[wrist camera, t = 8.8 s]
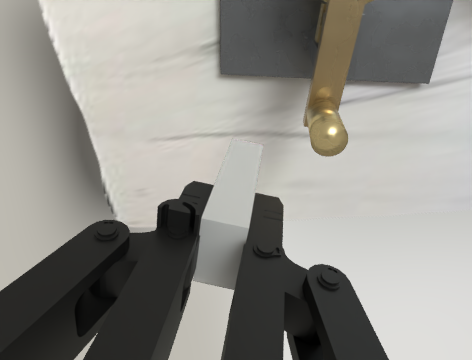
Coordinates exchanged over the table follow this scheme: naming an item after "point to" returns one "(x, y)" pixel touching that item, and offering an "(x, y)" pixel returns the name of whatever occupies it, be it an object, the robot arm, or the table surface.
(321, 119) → the brass crank handle
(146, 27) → the table surface
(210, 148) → the table surface
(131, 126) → the table surface
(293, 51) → the post base
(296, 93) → the table surface
